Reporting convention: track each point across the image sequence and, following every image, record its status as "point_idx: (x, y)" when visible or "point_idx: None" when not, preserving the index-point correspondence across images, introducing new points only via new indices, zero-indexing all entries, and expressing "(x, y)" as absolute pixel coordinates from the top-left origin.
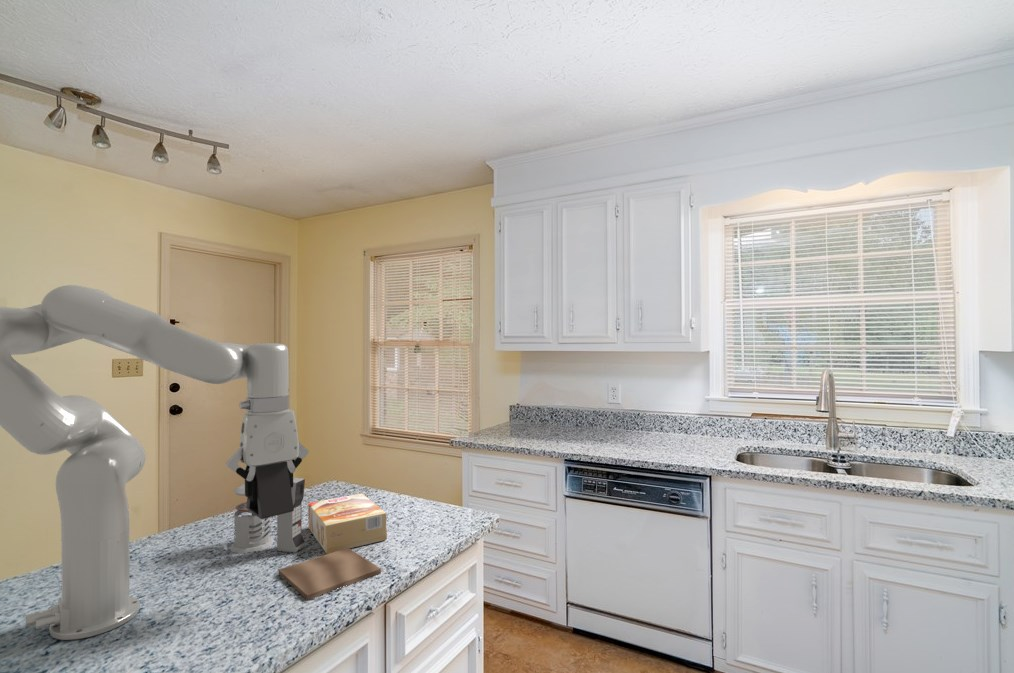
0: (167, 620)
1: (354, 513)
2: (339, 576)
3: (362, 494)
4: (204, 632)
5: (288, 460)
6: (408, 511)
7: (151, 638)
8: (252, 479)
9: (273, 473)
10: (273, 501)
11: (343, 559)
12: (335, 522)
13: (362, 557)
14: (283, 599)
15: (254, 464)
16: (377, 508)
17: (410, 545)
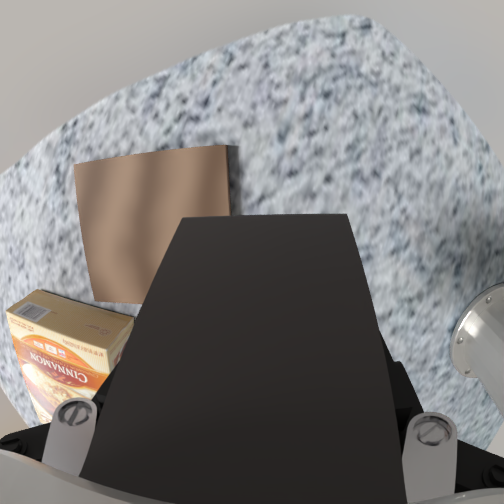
0: (443, 261)
1: (50, 356)
2: (142, 184)
3: (40, 418)
4: (416, 169)
5: (43, 465)
6: (6, 358)
7: (472, 217)
8: (411, 422)
9: (233, 431)
10: (278, 255)
11: (113, 256)
12: (87, 347)
13: (83, 237)
14: (265, 185)
15: (493, 501)
16: (16, 345)
17: (16, 239)
